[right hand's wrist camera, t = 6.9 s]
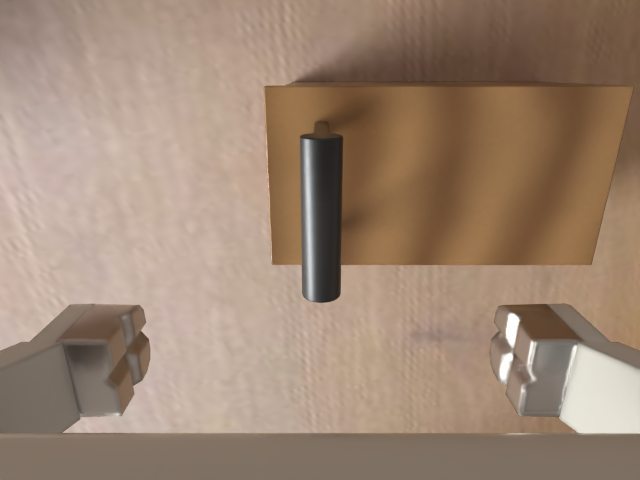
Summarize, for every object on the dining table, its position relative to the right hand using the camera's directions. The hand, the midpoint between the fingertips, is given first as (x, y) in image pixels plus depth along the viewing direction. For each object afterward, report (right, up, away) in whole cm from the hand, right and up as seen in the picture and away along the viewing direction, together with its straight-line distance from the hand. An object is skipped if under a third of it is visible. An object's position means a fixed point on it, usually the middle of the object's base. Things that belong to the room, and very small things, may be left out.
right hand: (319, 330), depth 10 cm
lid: (+6, +6, +14) cm, 17 cm away
